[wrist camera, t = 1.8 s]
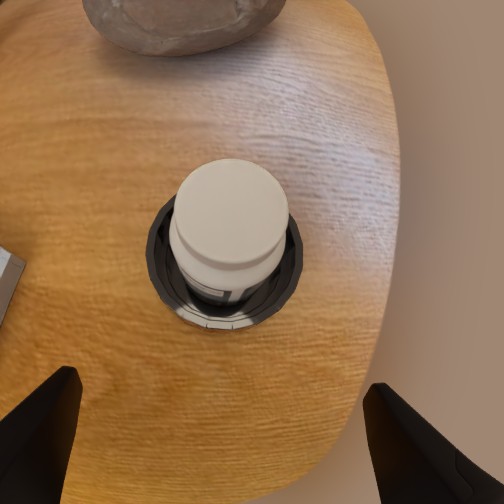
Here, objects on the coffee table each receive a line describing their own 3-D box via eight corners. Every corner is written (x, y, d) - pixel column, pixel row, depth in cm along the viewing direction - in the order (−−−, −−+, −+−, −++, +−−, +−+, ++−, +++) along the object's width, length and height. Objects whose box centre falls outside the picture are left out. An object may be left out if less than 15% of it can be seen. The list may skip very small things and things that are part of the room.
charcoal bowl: (259, 353, 21) (271, 354, 17) (137, 301, 21) (120, 289, 17) (301, 237, 24) (321, 212, 20) (190, 191, 24) (187, 159, 19)
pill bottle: (246, 218, 23) (272, 135, 14) (275, 293, 22) (325, 249, 13) (170, 241, 22) (148, 165, 13) (196, 320, 21) (185, 296, 11)
